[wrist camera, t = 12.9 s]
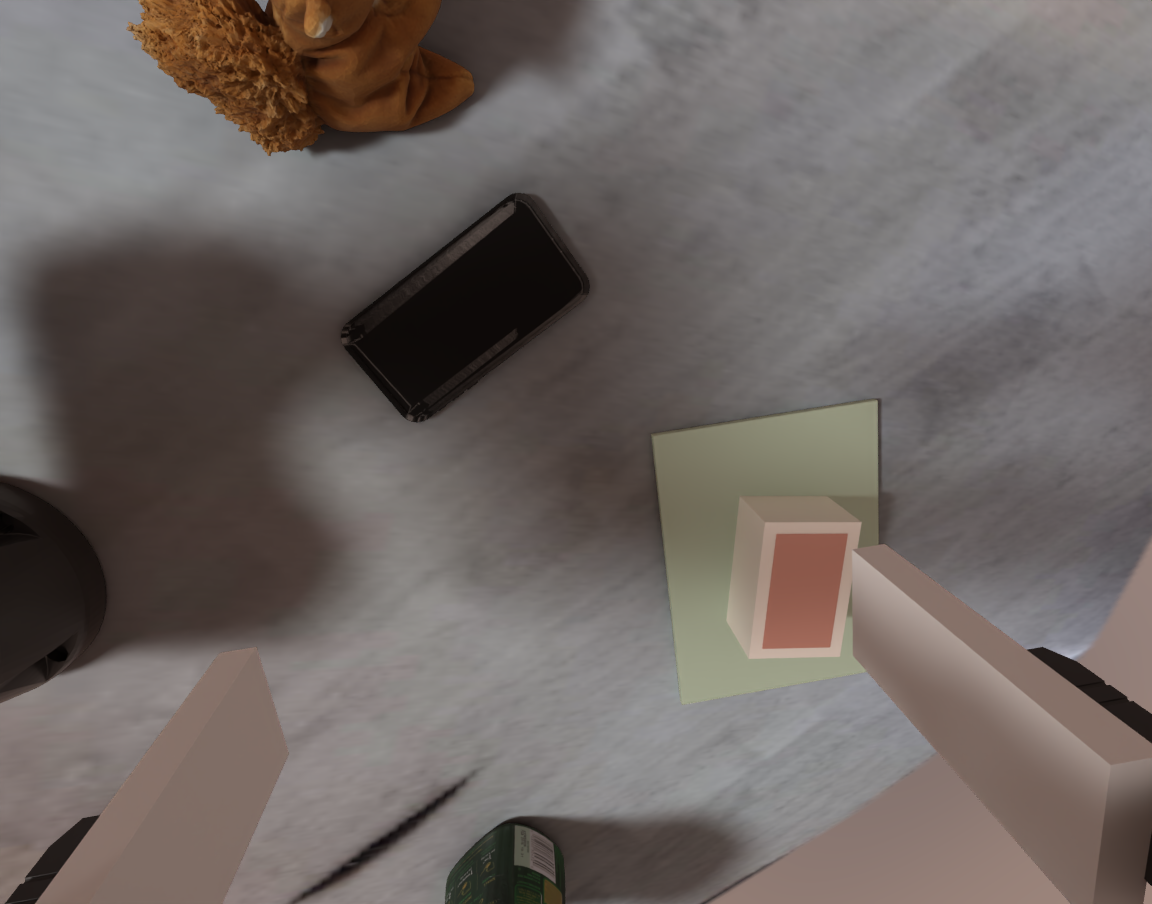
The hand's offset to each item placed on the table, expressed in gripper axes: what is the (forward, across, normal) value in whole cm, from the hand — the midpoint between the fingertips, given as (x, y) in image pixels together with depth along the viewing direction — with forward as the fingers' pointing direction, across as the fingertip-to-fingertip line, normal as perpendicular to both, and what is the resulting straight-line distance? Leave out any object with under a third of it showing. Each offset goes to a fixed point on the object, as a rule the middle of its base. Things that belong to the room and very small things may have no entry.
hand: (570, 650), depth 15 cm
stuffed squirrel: (+31, -8, +20) cm, 38 cm away
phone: (+32, -3, +6) cm, 32 cm away
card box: (+30, +16, -15) cm, 38 cm away
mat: (+31, +16, -15) cm, 38 cm away
